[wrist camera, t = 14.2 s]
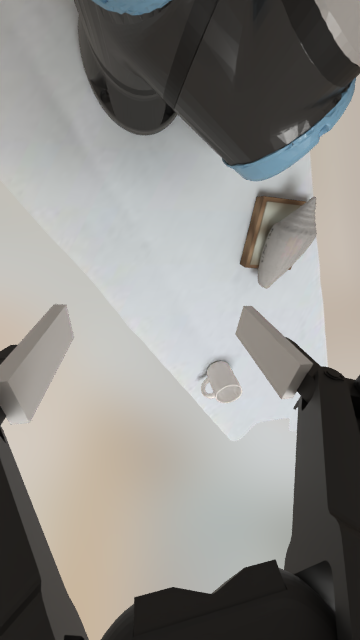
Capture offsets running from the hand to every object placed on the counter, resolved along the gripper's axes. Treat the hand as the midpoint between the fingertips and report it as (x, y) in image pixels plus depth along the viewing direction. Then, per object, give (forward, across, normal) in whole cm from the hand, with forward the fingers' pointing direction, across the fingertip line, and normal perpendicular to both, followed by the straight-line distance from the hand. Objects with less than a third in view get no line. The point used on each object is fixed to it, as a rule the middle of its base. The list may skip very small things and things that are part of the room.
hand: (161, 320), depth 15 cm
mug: (+32, +22, -40) cm, 56 cm away
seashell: (+29, +28, +2) cm, 40 cm away
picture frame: (+32, +28, +4) cm, 42 cm away
